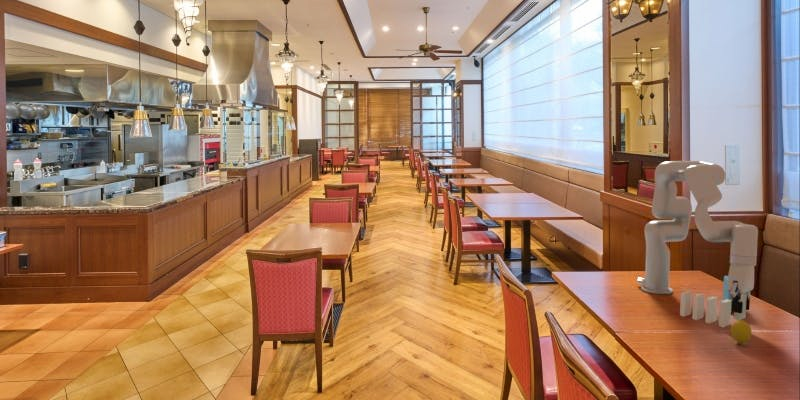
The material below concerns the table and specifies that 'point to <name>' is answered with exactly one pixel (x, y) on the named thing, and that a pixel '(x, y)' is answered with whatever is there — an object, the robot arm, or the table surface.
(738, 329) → the lemon
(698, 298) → the tile
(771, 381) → the table surface
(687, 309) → the tile
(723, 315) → the tile
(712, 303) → the tile
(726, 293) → the data package
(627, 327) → the table surface
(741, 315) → the tile
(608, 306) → the table surface
